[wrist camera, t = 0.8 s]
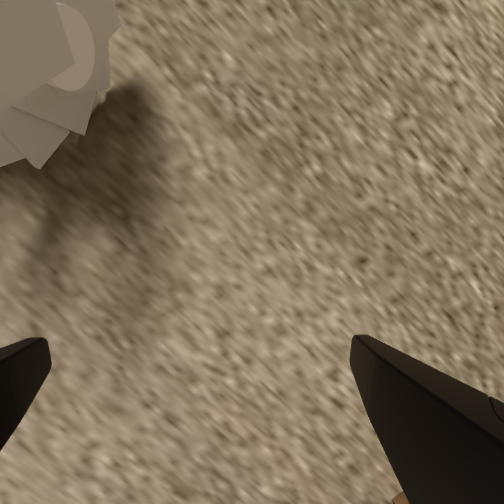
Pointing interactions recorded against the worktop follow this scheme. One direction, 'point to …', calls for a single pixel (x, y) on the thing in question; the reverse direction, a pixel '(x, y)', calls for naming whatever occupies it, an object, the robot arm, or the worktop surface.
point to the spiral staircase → (50, 72)
